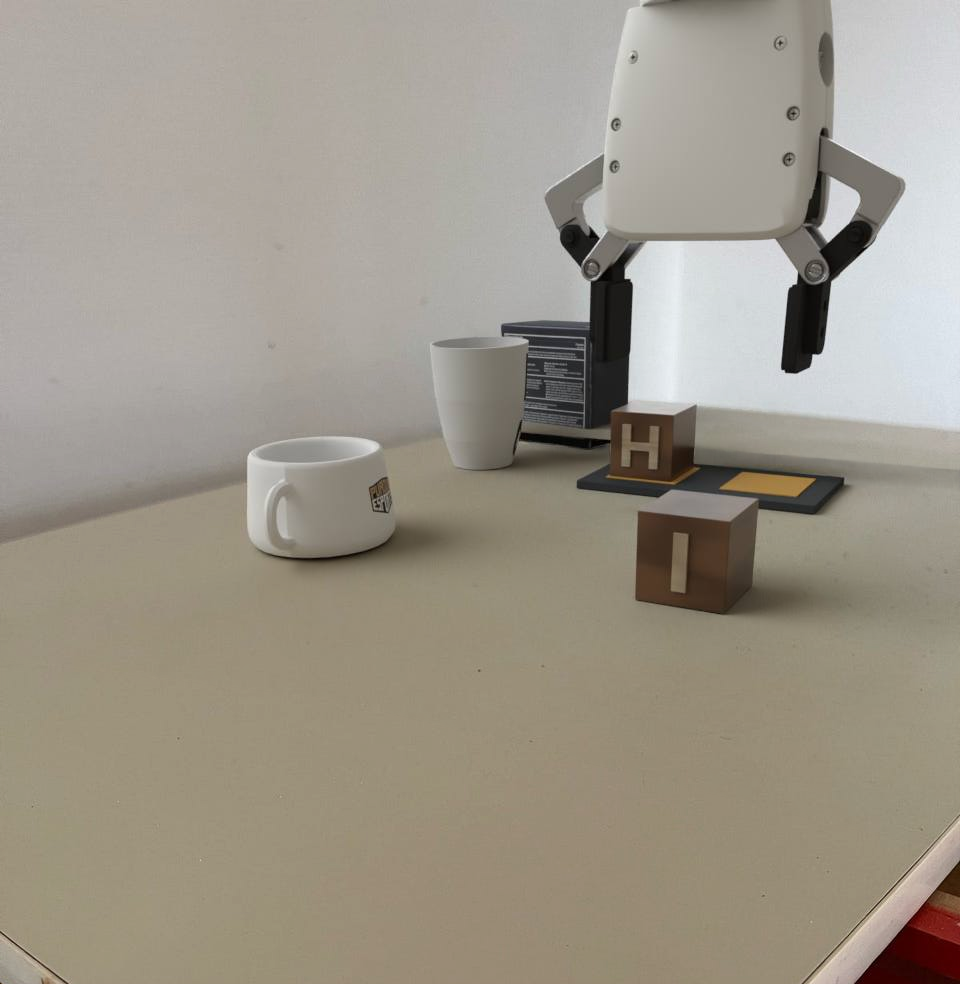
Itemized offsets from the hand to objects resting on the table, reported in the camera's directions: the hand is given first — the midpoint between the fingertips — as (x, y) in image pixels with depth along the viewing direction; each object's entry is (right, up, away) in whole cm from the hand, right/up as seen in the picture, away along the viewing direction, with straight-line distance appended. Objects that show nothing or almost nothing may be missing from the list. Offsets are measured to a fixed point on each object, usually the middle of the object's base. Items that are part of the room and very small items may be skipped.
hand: (700, 364), depth 52 cm
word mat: (+6, -2, +26) cm, 27 cm away
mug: (-22, -8, +15) cm, 28 cm away
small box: (-3, +5, +44) cm, 45 cm away
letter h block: (+2, -1, +28) cm, 28 cm away
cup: (-11, +1, +36) cm, 38 cm away
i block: (+1, -11, +5) cm, 12 cm away
